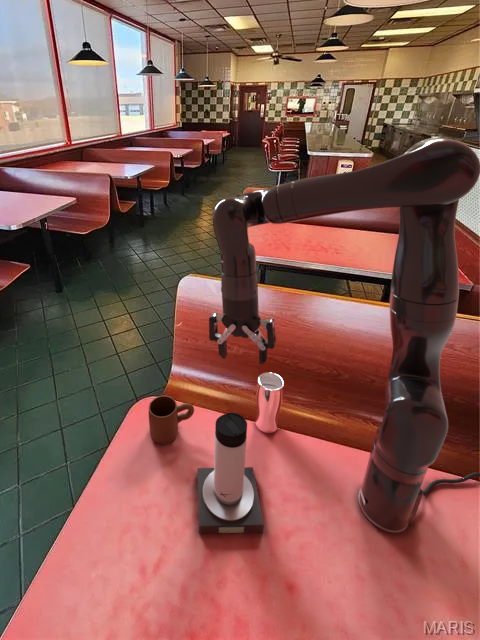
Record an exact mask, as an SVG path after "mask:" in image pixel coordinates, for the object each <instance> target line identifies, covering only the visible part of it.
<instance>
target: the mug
mask: <svg viewBox="0 0 480 640" xmlns="http://www.w3.org/2000/svg"><path fill="white" fill-rule="evenodd" d="M186 410H187V411H186ZM184 411H186V412H184ZM194 414H195V408H194V406H193V405H192V404H191V403H190V402H184V403H181V404H179V405H178V404H177V401H176V400H175V399H174V398H173V397H172V396H170V395H159V396H156V397H155V398H153V399H152V400H151V401H150V402H149V404H148V424H149V425H148V426H149V435H150V438H151V439H152V440H153V441H154V442H156V443H157V444H161V445H165V444H169V443H171V442H173V441H174V440H175V438H176V437H177V436H178V433H179V423H181V422H183V421H186V420H189V419H191V418H192V416H193V415H194Z"/></svg>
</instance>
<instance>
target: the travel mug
mask: <svg viewBox="0 0 480 640" xmlns="http://www.w3.org/2000/svg"><path fill="white" fill-rule="evenodd" d="M247 433H248V422H247V420H246V418H245V417H244V416H242V415H241V414H240V413H238V412H237V413H236V412H226V413H223V414H222V415H220V416H219V417H218V418H216V420H215V431H214V461H213V463H214V464H213V468H214V493H215V496H216V497H217V499H218V500H219V501H220V502H222V503H224V504H227V505H232V504H235V503H237V502H238V501H239V500H240V499H241V497H242V494H243V482H244V468H245V467H246V466H245V465H246V451H247V437H248V436H247Z"/></svg>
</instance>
